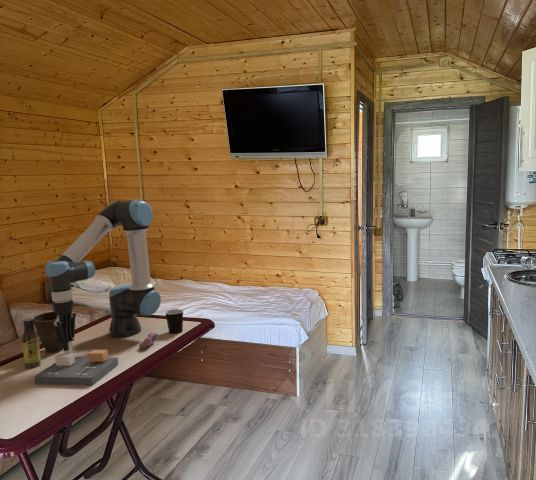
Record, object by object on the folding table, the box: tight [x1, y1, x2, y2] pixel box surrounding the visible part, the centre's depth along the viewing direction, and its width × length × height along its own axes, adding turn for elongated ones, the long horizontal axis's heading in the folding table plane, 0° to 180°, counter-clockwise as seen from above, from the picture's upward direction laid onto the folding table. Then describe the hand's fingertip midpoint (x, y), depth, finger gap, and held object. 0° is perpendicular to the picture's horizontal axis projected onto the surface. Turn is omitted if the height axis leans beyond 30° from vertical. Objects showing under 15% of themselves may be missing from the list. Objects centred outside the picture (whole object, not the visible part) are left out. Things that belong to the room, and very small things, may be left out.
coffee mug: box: [164, 308, 184, 335], centre depth 244 cm, size 12×9×10 cm
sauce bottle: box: [21, 317, 42, 369], centre depth 211 cm, size 6×6×20 cm
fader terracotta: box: [88, 349, 109, 362], centre depth 205 cm, size 4×6×4 cm, turn 79°
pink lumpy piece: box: [138, 332, 159, 350], centre depth 228 cm, size 10×5×7 cm, turn 169°
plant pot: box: [33, 311, 64, 354], centre depth 229 cm, size 15×15×16 cm
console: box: [34, 356, 119, 386], centre depth 200 cm, size 20×24×3 cm
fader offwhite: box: [54, 352, 76, 366], centre depth 203 cm, size 4×6×4 cm, turn 79°
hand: (68, 357), depth 205 cm, fingers closed
